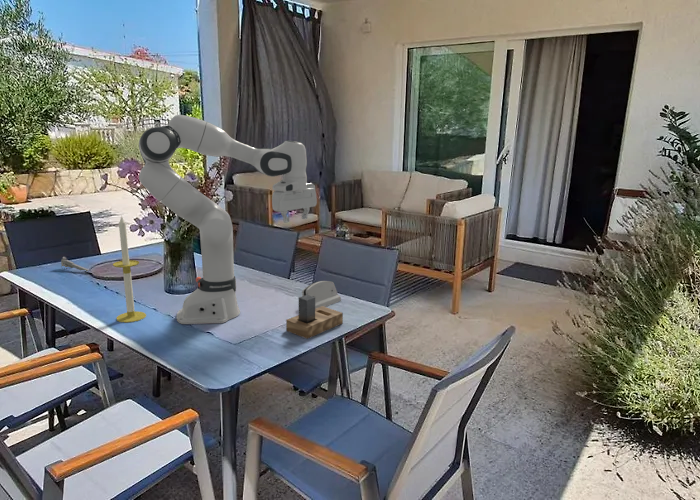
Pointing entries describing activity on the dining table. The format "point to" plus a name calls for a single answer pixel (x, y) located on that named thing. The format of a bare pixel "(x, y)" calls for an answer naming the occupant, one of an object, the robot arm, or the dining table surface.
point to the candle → (127, 278)
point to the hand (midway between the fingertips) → (295, 220)
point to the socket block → (315, 323)
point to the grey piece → (322, 293)
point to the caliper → (71, 264)
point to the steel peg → (306, 309)
